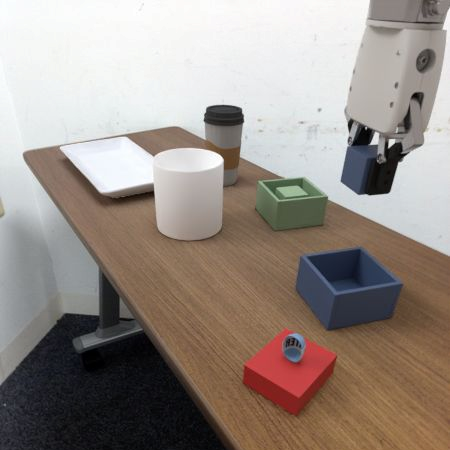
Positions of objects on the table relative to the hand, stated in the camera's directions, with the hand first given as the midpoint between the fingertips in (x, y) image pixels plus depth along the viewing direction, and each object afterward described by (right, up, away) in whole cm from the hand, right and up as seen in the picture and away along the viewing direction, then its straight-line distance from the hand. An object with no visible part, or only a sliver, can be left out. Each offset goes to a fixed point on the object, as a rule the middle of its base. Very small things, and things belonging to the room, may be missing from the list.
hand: (365, 184), depth 53 cm
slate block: (0, 0, 0) cm, 0 cm away
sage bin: (-6, +1, +28) cm, 28 cm away
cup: (-24, -1, +24) cm, 34 cm away
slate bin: (-1, -15, +6) cm, 16 cm away
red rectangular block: (-11, -23, -5) cm, 26 cm away
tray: (-42, +14, +43) cm, 61 cm away
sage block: (-6, +2, +27) cm, 28 cm away
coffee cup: (-18, +12, +41) cm, 47 cm away
